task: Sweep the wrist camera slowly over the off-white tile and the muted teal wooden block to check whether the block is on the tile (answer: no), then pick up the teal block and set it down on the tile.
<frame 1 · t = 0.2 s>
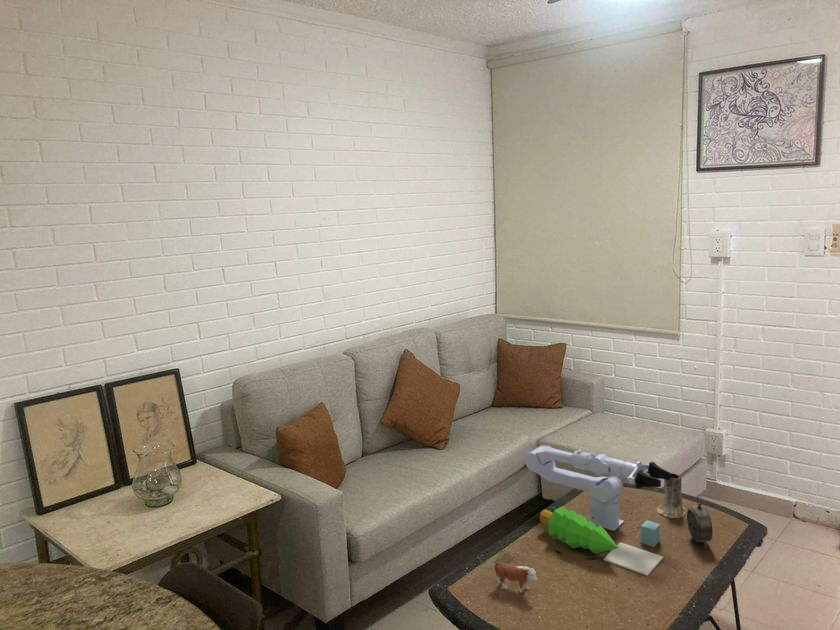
hand: (665, 479, 212), 22 cm above the table, tool horizontal, fingers open, 7 cm apart
bull figurine: (517, 589, 195), on the table
teal block: (650, 542, 217), on the table
decorative tree: (577, 547, 215), on the table
alarm clock: (697, 542, 216), on the table
tree stump: (671, 512, 236), on the table
off-white tile: (633, 559, 207), on the table
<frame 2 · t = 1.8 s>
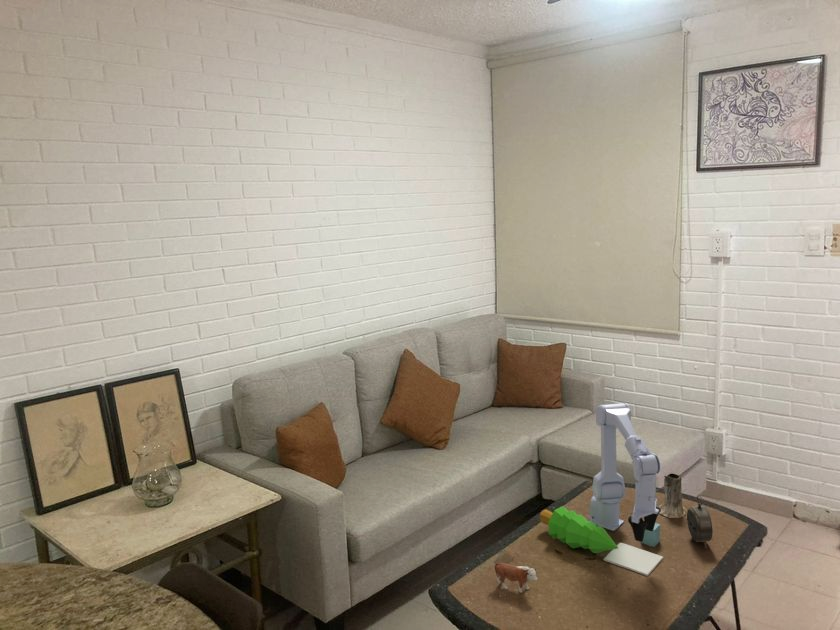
hand: (644, 535, 201), 10 cm above the table, tool pointing down, fingers open, 7 cm apart
nothing on the table moved.
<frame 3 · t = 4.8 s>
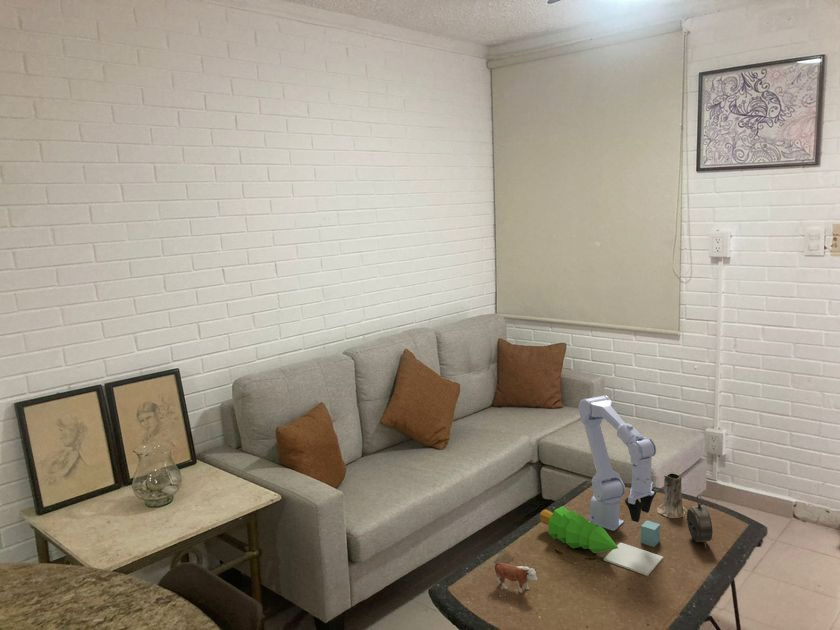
hand: (640, 516, 213), 10 cm above the table, tool pointing down, fingers open, 7 cm apart
nothing on the table moved.
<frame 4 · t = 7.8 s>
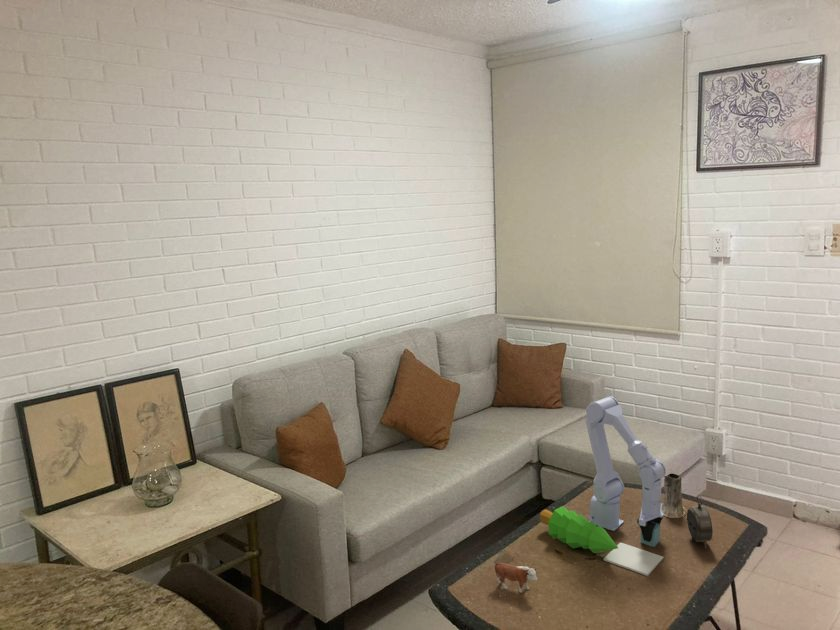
hand: (650, 537, 217), 2 cm above the table, tool pointing down, fingers closed on teal block, 4 cm apart
teal block: (650, 541, 217), on the table, touching gripper
everything else where it was.
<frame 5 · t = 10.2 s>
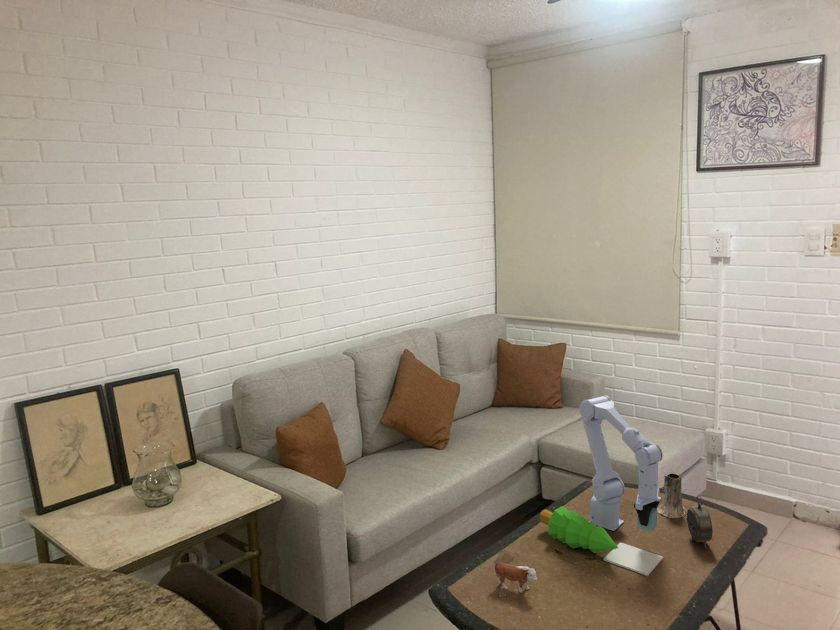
hand: (647, 521, 213), 8 cm above the table, tool pointing down, fingers closed on teal block, 4 cm apart
teal block: (647, 526, 213), point 7 cm above the table, touching gripper
everything else where it was.
when the fingers open (3 cm above the table, at t = 12.8 s): teal block stays where it is, resting on off-white tile.
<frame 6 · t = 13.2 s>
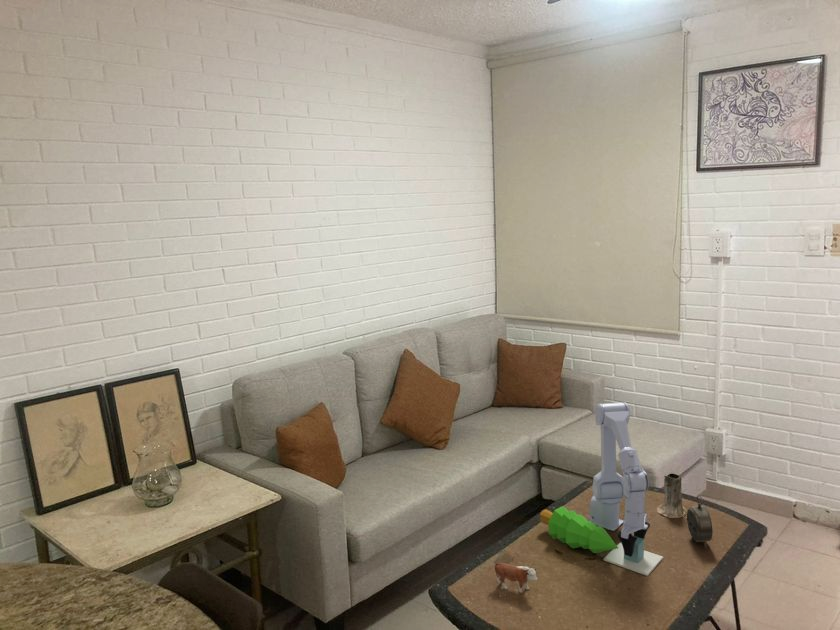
hand: (633, 549, 207), 3 cm above the table, tool pointing down, fingers open, 7 cm apart
teal block: (633, 557, 207), point 1 cm above the table, touching off-white tile
everything else where it was.
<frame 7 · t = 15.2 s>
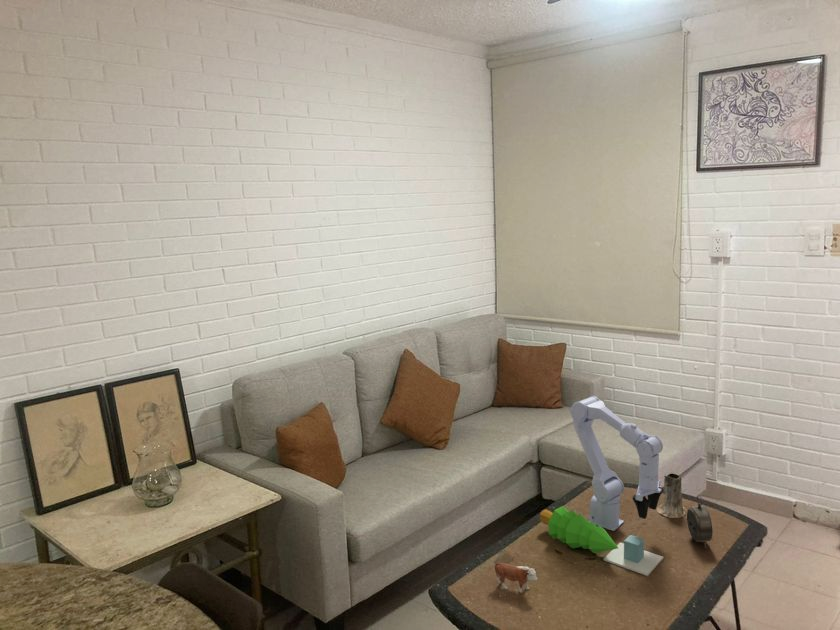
hand: (647, 513, 217), 9 cm above the table, tool pointing down, fingers open, 7 cm apart
nothing on the table moved.
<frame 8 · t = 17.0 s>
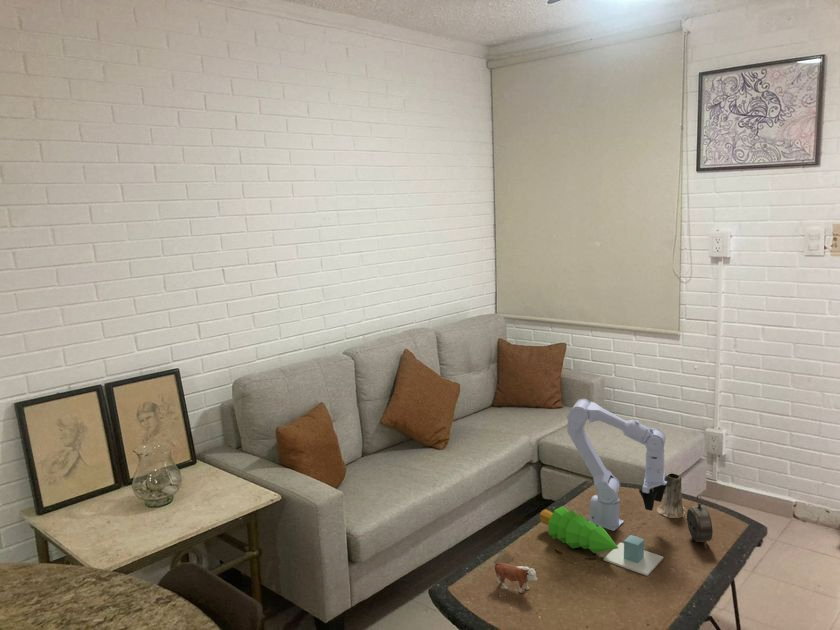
hand: (653, 505, 222), 9 cm above the table, tool pointing down, fingers open, 7 cm apart
nothing on the table moved.
at the end: teal block inside the target area on the off-white tile (0.1 cm from its centre), point 0.6 cm above the off-white tile's base; teal block tilted 0°; the gripper is holding nothing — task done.
